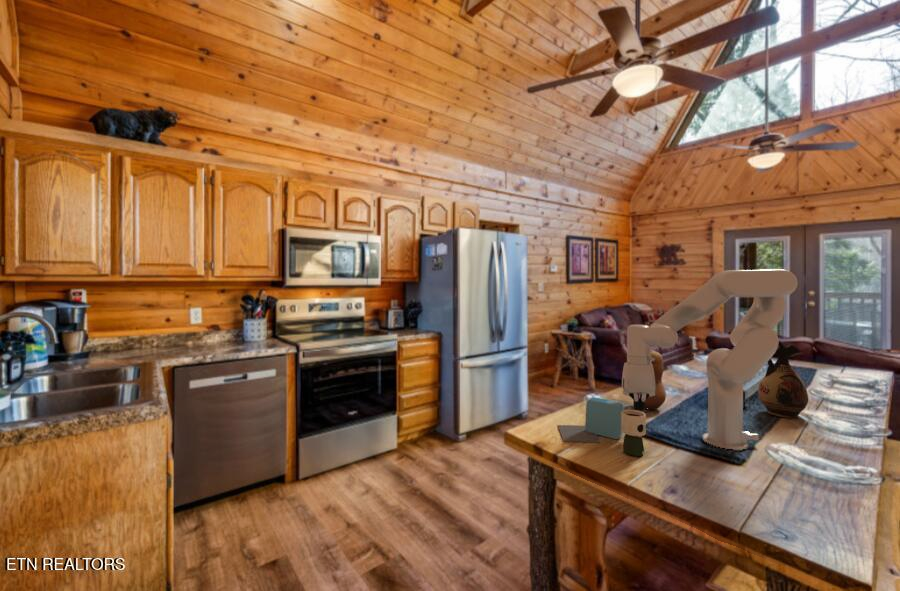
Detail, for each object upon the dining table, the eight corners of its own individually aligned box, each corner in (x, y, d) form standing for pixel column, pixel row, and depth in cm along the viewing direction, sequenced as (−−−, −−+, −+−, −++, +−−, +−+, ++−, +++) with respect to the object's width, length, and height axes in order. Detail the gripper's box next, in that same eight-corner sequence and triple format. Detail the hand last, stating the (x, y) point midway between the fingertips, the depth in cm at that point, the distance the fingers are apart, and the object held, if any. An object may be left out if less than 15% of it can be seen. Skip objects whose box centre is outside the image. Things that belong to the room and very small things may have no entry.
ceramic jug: (803, 411, 163) (804, 338, 162) (811, 423, 150) (813, 344, 149) (751, 405, 172) (752, 336, 171) (755, 416, 159) (756, 341, 158)
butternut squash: (672, 409, 169) (672, 350, 168) (655, 415, 161) (655, 354, 160) (640, 401, 180) (641, 346, 180) (623, 406, 173) (623, 349, 172)
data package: (623, 436, 141) (624, 402, 140) (620, 440, 137) (621, 405, 137) (588, 428, 148) (589, 396, 147) (584, 431, 144) (586, 399, 144)
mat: (590, 426, 150) (590, 425, 150) (600, 443, 135) (600, 441, 135) (557, 425, 152) (557, 424, 152) (563, 441, 137) (563, 440, 137)
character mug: (638, 462, 121) (638, 420, 120) (614, 455, 126) (614, 414, 125) (651, 451, 128) (651, 411, 128) (629, 445, 133) (629, 406, 133)
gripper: (657, 358, 143) (656, 408, 143) (613, 357, 145) (613, 407, 145) (665, 362, 135) (665, 416, 136) (619, 362, 137) (619, 414, 138)
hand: (638, 411), depth 141 cm, fingers closed
